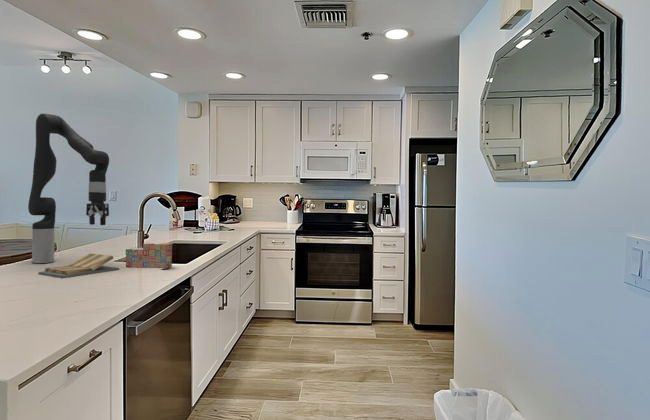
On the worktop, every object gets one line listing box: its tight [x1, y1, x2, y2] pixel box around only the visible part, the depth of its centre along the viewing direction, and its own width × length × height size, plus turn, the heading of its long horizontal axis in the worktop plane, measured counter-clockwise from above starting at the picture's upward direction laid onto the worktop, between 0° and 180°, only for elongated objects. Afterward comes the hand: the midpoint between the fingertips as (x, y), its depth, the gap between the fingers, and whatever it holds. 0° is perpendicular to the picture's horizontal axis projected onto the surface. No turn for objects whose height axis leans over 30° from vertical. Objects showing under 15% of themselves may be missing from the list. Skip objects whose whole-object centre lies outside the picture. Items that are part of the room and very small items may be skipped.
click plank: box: [68, 252, 114, 271], centre depth 191 cm, size 18×11×2 cm, turn 62°
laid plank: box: [44, 264, 91, 275], centre depth 182 cm, size 18×10×2 cm, turn 62°
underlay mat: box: [37, 265, 120, 279], centre depth 187 cm, size 19×26×1 cm
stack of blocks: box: [125, 242, 173, 269], centre depth 203 cm, size 21×6×12 cm, turn 85°
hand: (97, 224), depth 196 cm, fingers open, 8 cm apart
